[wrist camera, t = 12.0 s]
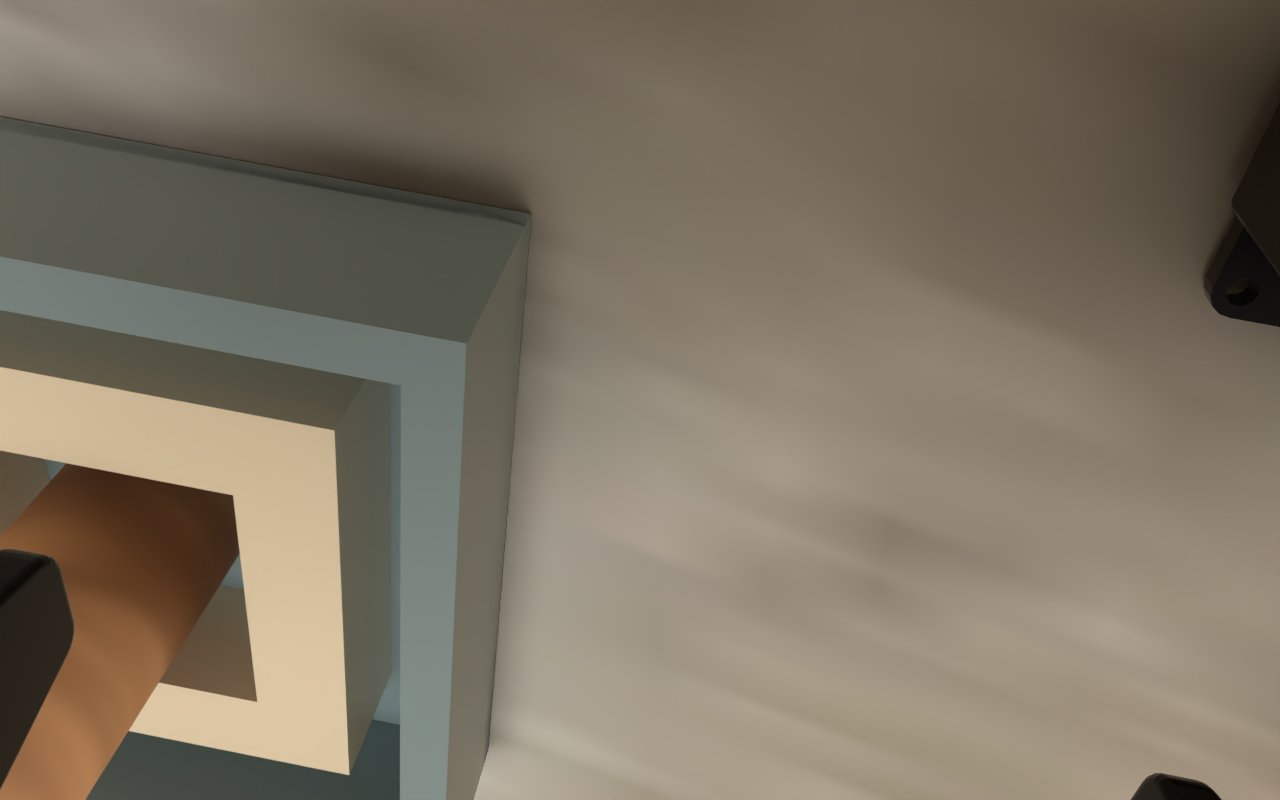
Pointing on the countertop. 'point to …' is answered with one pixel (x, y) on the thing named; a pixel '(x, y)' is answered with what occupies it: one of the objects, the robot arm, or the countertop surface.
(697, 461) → the countertop surface
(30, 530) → the peg
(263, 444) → the open box
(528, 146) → the countertop surface
